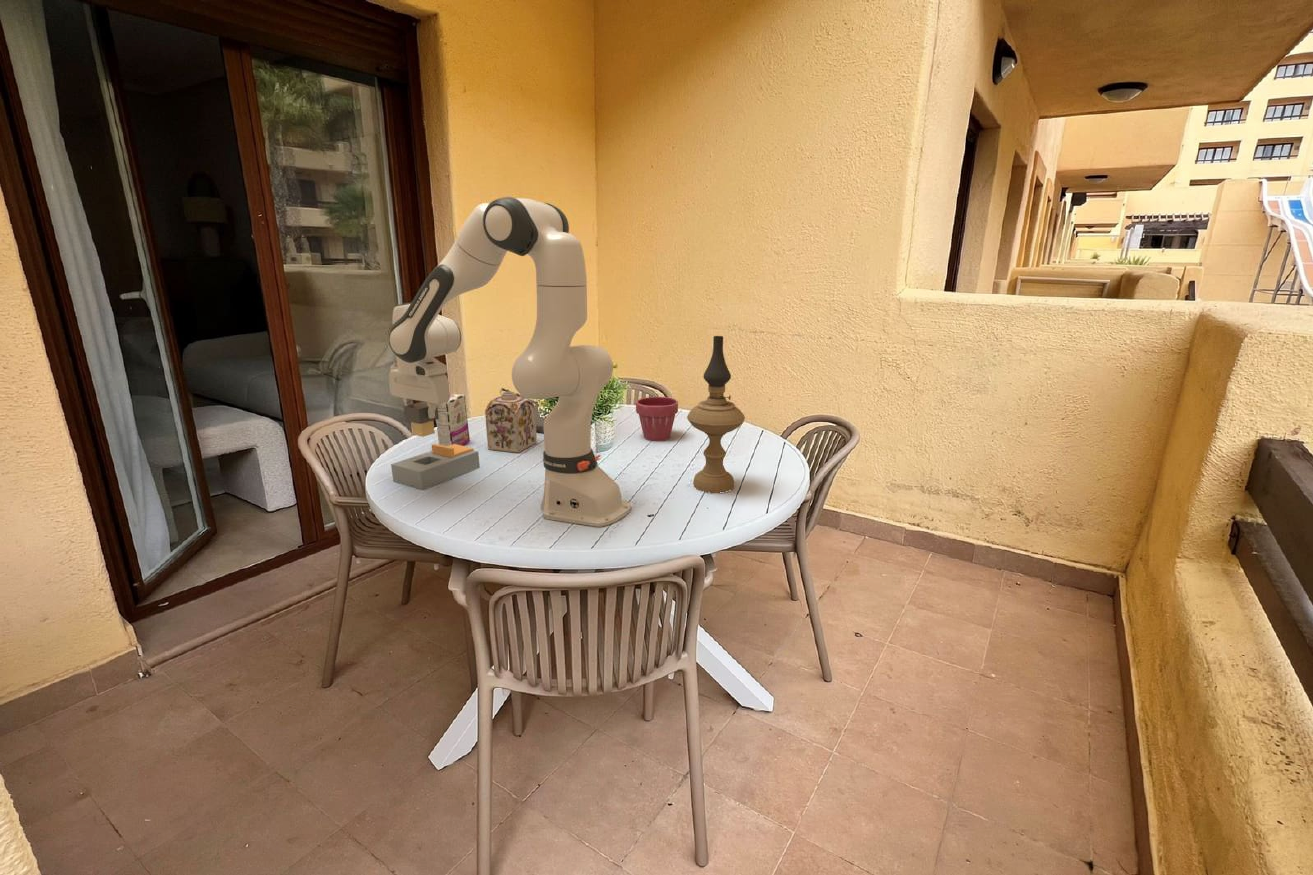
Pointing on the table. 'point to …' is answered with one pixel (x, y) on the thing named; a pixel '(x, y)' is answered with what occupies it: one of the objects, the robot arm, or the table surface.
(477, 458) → the socket block
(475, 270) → the robot arm
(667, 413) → the plant pot
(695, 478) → the oil lamp
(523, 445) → the decorative jar
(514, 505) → the table surface
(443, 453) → the panel
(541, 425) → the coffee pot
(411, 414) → the plug
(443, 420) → the candy bar box
